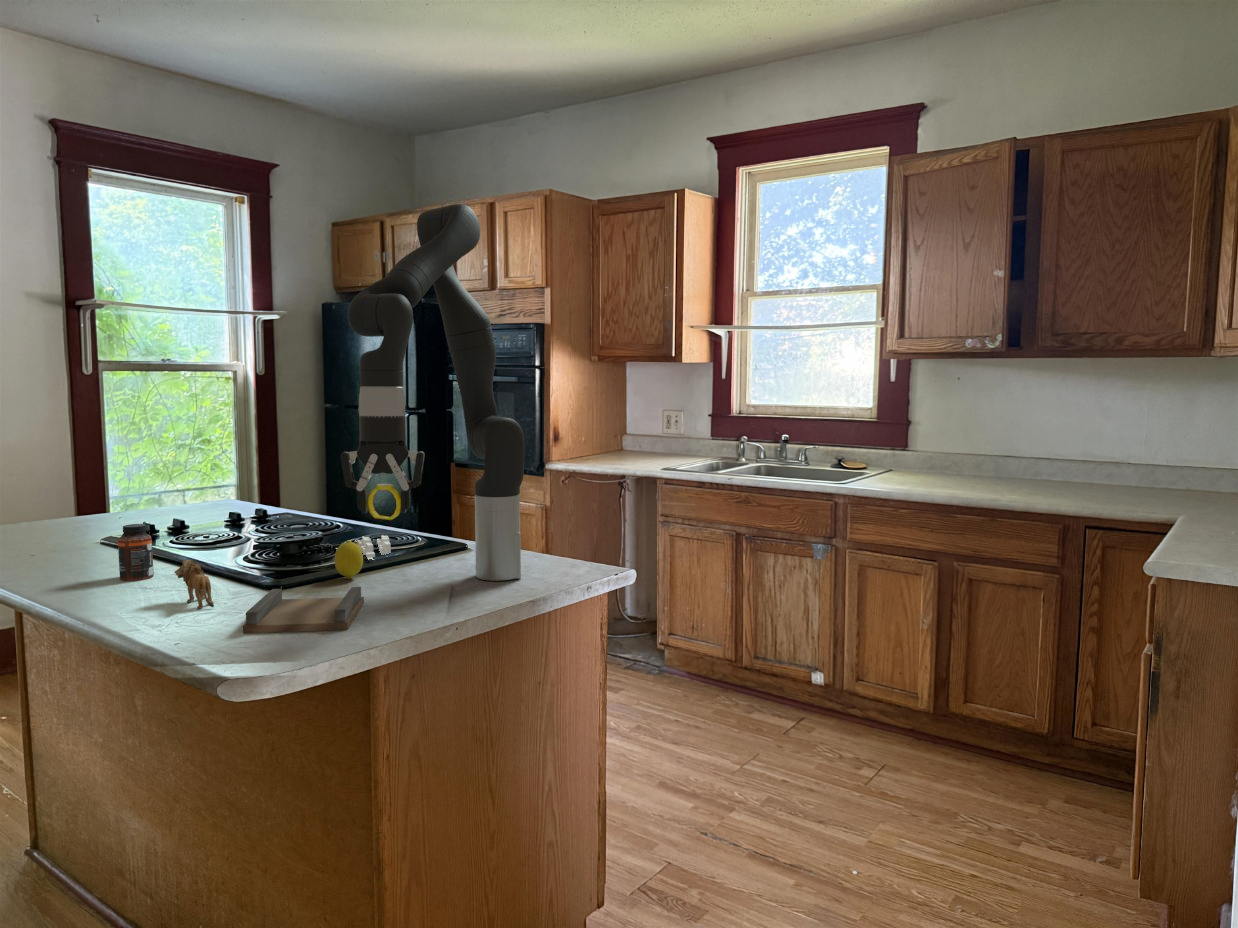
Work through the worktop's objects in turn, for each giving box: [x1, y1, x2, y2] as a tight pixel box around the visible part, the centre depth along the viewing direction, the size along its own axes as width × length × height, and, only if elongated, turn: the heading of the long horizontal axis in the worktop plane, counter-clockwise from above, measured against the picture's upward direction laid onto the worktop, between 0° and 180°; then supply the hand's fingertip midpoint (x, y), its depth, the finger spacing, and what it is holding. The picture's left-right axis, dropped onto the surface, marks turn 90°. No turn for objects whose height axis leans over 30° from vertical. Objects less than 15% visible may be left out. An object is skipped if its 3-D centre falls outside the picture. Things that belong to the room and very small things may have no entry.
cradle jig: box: [242, 586, 365, 634], centre depth 143 cm, size 16×17×3 cm
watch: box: [367, 483, 401, 521], centre depth 144 cm, size 6×3×6 cm, turn 74°
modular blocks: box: [357, 535, 392, 561], centre depth 194 cm, size 20×7×4 cm, turn 23°
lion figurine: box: [174, 559, 215, 610], centre depth 152 cm, size 12×4×7 cm, turn 49°
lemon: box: [334, 539, 364, 580], centre depth 172 cm, size 6×6×8 cm
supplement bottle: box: [117, 523, 154, 582], centre depth 169 cm, size 6×6×11 cm
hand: (384, 511), depth 144 cm, fingers closed on watch, 6 cm apart
